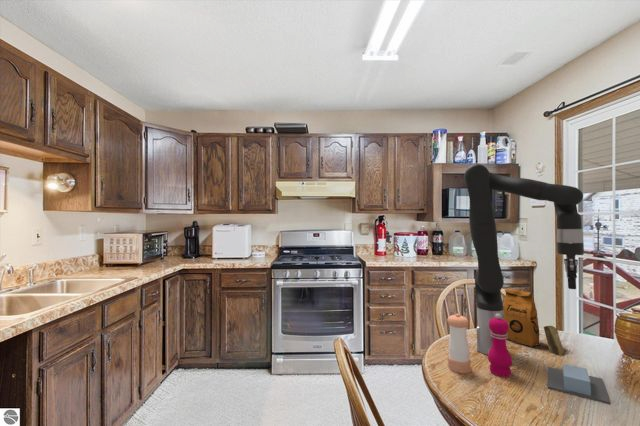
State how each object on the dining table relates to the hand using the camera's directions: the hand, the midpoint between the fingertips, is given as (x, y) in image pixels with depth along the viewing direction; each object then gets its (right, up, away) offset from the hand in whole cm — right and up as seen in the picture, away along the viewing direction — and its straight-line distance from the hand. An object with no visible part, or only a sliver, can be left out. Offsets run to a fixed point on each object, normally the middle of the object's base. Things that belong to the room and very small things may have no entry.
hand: (572, 288), depth 109 cm
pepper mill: (-30, -28, -6) cm, 41 cm away
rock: (+3, -28, +11) cm, 30 cm away
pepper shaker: (-43, -28, -3) cm, 51 cm away
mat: (-11, -27, -15) cm, 32 cm away
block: (-10, -24, -12) cm, 29 cm away
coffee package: (-5, -28, +20) cm, 35 cm away
